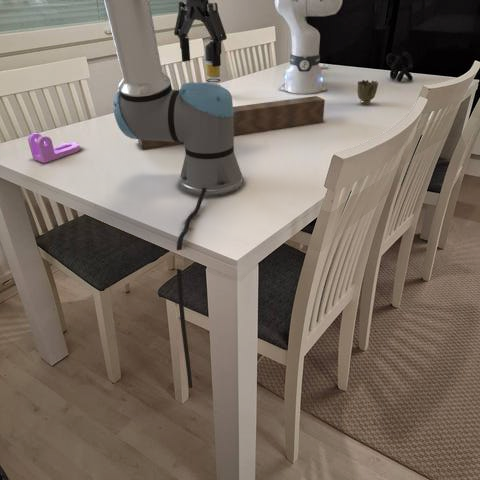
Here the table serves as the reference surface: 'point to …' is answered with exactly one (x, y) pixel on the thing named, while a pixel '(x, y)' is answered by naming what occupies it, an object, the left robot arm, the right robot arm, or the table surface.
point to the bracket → (49, 148)
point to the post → (267, 117)
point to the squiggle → (399, 66)
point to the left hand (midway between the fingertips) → (200, 63)
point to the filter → (211, 71)
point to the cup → (366, 91)
